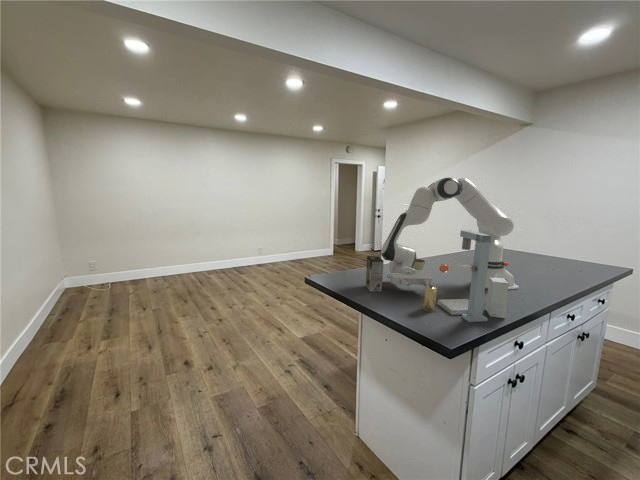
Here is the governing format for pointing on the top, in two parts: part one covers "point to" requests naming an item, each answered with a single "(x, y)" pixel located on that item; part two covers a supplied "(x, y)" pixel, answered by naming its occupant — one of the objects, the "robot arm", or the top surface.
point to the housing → (429, 298)
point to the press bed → (455, 306)
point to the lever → (457, 268)
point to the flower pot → (419, 264)
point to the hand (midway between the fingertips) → (417, 284)
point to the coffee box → (374, 273)
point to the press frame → (477, 273)
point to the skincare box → (497, 297)
